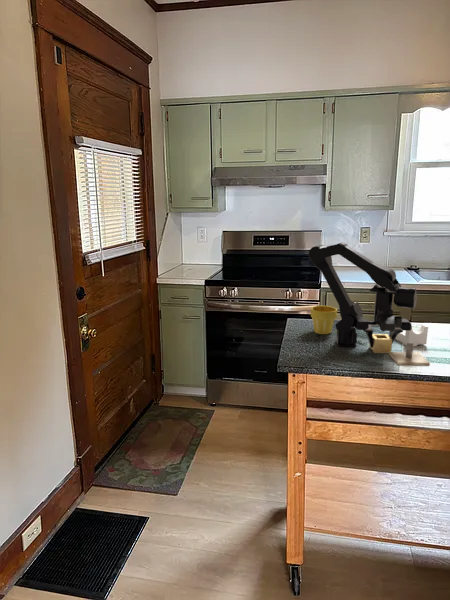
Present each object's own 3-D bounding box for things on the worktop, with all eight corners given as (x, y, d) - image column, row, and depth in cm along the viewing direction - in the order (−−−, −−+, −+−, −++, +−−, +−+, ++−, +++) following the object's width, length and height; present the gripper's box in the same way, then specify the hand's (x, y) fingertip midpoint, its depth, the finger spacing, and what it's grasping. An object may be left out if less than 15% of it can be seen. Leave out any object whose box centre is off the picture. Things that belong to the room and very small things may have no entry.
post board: (398, 364, 147) (399, 347, 145) (389, 354, 156) (390, 338, 155) (429, 365, 146) (431, 348, 145) (418, 354, 156) (420, 338, 154)
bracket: (426, 346, 165) (428, 326, 163) (407, 347, 164) (409, 327, 162) (407, 335, 178) (409, 317, 176) (390, 336, 177) (392, 317, 175)
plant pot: (338, 335, 177) (340, 311, 174) (312, 335, 177) (313, 311, 175) (332, 328, 187) (334, 305, 185) (308, 328, 187) (308, 305, 185)
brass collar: (373, 352, 158) (374, 339, 157) (369, 347, 164) (370, 334, 162) (391, 353, 157) (392, 339, 156) (386, 347, 163) (387, 334, 162)
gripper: (361, 310, 149) (358, 354, 153) (419, 311, 148) (414, 355, 152) (354, 302, 160) (351, 344, 164) (407, 303, 159) (404, 344, 163)
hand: (380, 347), depth 160 cm, fingers closed on brass collar, 6 cm apart
